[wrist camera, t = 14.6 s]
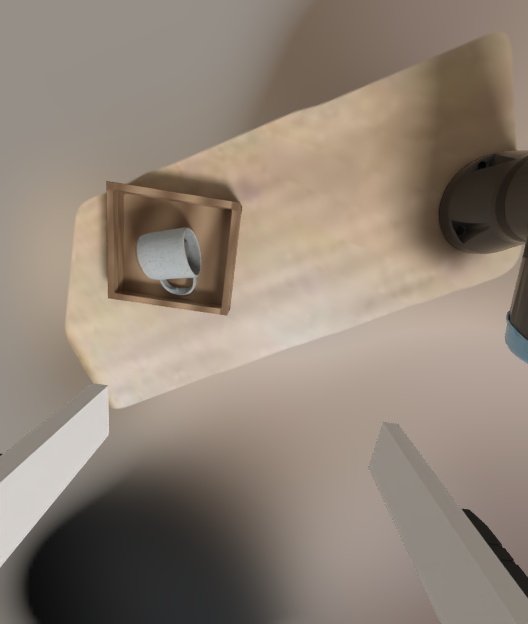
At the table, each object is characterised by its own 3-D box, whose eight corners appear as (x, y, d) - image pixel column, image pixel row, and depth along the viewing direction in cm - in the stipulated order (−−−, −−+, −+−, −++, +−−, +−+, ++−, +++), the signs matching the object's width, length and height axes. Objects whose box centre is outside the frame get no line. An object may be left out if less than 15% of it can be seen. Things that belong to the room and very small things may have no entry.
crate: (242, 206, 42) (239, 202, 38) (229, 309, 46) (226, 315, 42) (121, 187, 41) (106, 181, 37) (121, 293, 46) (108, 298, 42)
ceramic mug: (148, 234, 42) (123, 233, 34) (196, 227, 41) (181, 225, 34) (163, 296, 45) (144, 307, 37) (208, 290, 44) (197, 300, 37)
